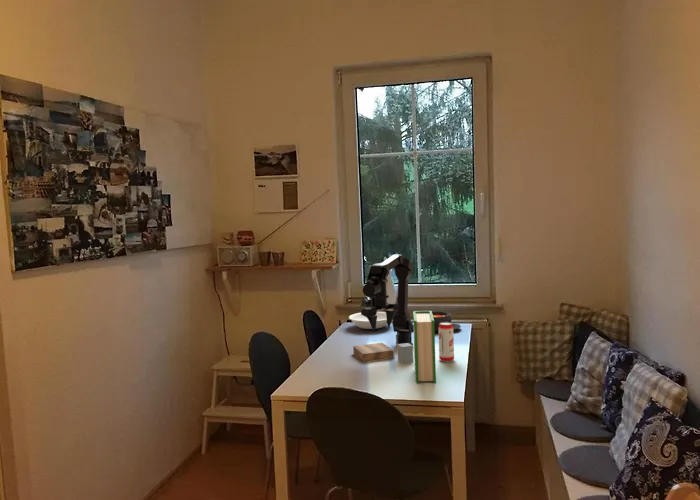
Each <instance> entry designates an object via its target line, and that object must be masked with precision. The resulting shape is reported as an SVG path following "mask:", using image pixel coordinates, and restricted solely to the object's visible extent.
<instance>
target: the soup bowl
mask: <svg viewBox="0 0 700 500" xmlns="http://www.w3.org/2000/svg"><path fill="white" fill-rule="evenodd" d="M376 316H377V322H376V328H375V330H376V329H380V328H384V327H385V326H387V318H386V313H385V311H379V312H377V314H376ZM348 320H349V321H352V323H353V324H354V326H356V327H358V328H360V329H363V330H364V329H365V330H373V329H372V327H371V324H370V322H369V320H368V318H367V317H365V316H364V315H361V312H357V313H353V314H350V315H349V317H348Z"/></svg>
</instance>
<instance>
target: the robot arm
mask: <svg viewBox="0 0 700 500" xmlns="http://www.w3.org/2000/svg"><path fill="white" fill-rule="evenodd" d="M391 270H394V276H395V278H396V279H397V302H393V301H389V302H388V299H389V298H390V297H389V294H387V282H389V281H388V279H387V277H388V276H389V275H390V271H391ZM413 270H414V265H413V263H412V262H411V260H409V259H408V258H406V257H404V255H402V254H391V255H390V257H389V258H387V259H386V260H385V259H384V261H383V262H379V263H374V264H372V265H371V266H370V267H369V271H368V274H367V278H366V284H364V285H363V287H362V292H363V293H362V294H363V295H364V296H365V297H367V298H362V299H361V306H362V309H360V313H361V315H364V316H365V317H367V318H368V320H369V322H370V324H371V327H372V329H371V330H372V331H376V329H375V328H376V322H377V316H376V314H377V312H385V313H386V318H387V324H386V326H387V327H390V326H391V324H392V329H393V332H395V333H396V335H395V344H403V343H409V344H411V345H413V346H414V342H412V339H413V337H412V334H413V333H414V326H413V322H412V317H411V314H410V313H409V311H408V308H409V307H408V303H409V301H408V300H409V280H410V278H411V277H412V275H413ZM368 298H370V299H368Z"/></svg>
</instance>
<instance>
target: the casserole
mask: <svg viewBox="0 0 700 500" xmlns="http://www.w3.org/2000/svg"><path fill="white" fill-rule="evenodd" d="M431 311H432V310H431ZM432 314H433V318H434V331H435V333H439V325H440V323H441V322H450V323H452V326H453V331H455V330H458V329H460V328H461V325H460V324H459V323H453V322H452V320H453V318H454V317H453V316H452V314H451V313H450V312H447V311H438V310H434V311H432Z"/></svg>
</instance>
